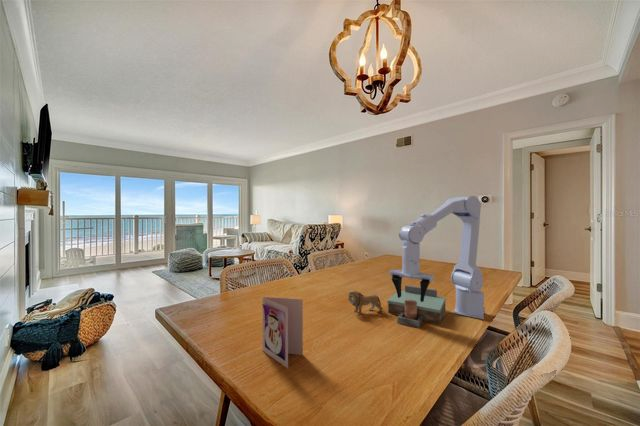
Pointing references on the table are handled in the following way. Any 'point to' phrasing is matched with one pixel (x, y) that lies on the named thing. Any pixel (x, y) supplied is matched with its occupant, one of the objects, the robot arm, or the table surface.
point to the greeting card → (282, 328)
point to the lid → (414, 293)
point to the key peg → (411, 309)
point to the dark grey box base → (421, 315)
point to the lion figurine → (363, 301)
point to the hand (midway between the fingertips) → (410, 298)
